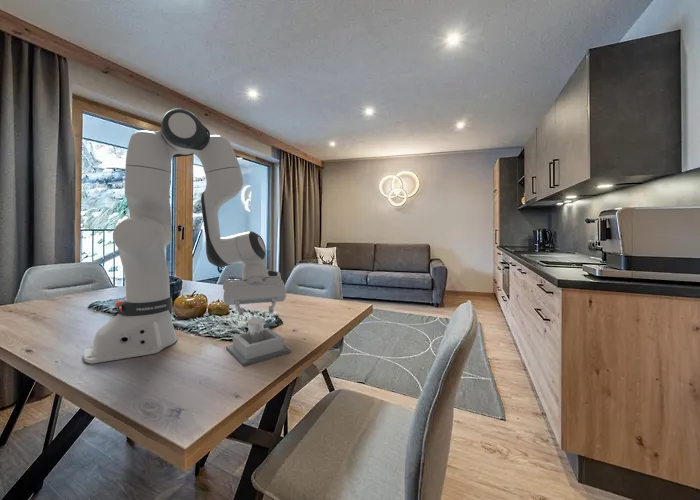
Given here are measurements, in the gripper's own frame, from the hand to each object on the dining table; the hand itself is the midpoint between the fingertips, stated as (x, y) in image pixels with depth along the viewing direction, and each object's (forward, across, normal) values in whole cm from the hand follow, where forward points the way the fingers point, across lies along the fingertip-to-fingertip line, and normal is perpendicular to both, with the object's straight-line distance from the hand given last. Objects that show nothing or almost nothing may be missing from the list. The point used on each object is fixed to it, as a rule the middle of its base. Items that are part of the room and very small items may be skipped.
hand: (256, 313), depth 96 cm
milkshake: (+13, 0, -2) cm, 13 cm away
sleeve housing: (+13, 0, -1) cm, 13 cm away
